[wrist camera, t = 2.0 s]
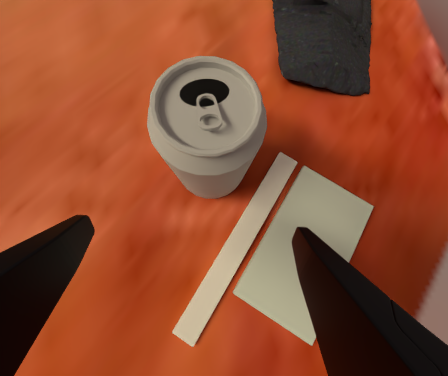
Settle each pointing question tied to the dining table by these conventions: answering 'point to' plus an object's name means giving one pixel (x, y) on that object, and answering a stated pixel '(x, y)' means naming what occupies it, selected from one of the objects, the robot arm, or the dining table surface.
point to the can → (207, 123)
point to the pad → (283, 252)
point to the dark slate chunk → (325, 43)
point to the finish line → (233, 251)
